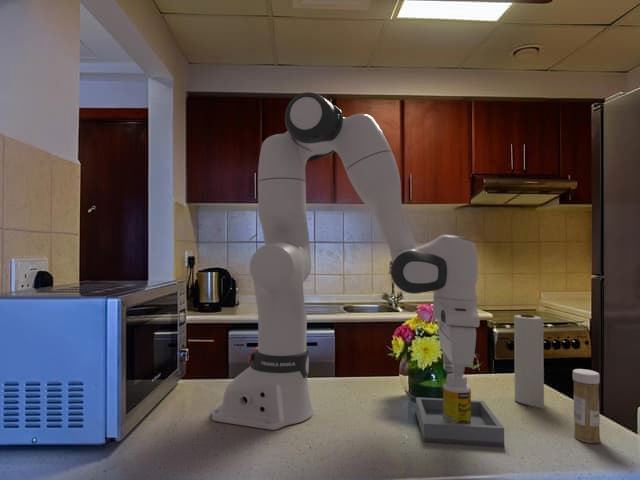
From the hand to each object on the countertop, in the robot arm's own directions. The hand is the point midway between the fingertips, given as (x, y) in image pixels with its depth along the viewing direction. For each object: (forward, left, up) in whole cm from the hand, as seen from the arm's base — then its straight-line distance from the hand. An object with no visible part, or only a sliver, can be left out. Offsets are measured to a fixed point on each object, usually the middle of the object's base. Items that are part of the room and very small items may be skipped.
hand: (452, 377), depth 88 cm
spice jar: (+26, -2, -11) cm, 28 cm away
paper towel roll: (+22, +18, -11) cm, 30 cm away
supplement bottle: (+1, 0, -10) cm, 10 cm away
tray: (+1, 0, -11) cm, 11 cm away
